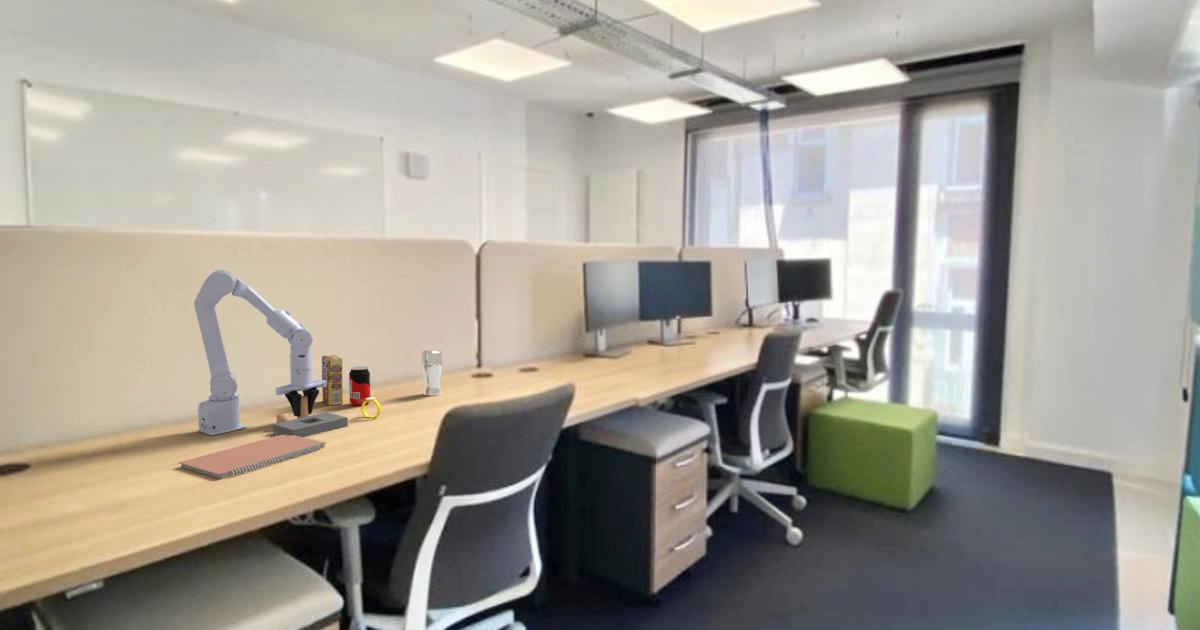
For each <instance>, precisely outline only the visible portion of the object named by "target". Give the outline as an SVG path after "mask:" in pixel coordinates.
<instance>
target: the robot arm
mask: <svg viewBox="0 0 1200 630" xmlns="http://www.w3.org/2000/svg"><path fill="white" fill-rule="evenodd" d="M230 293H231V294H232V296H234V297H237V298H242V299H244V300H246V301H247V302H248V303H249V304H250V305H251V306H253V308H255V309H256V310H258V311H259V312H260V313H261V314H262V315H264V316H265V318H266V324H267V326H269V327H270V328H271V329H272V330H274V331H275V332H276V333H277V334H279V336H281V337H282V338H283V339H287V342H288V343H289V344H290V345H289V346H290V347H289V348H290V354H289V364H290V365H289V366H290V367H289V368H290V369H289V370H290V371H289V372H290V383H289V384H287V385H283V386H278V387H276V388H275V395H278V396H282V395H284V397H285V398H286V399H287V401H288V402H289V404H290V407H291V409H292V412H293V416H294V417H299V416H300V402H301V396H308V415H311V414H312V415H313V408H314V405H315V403H316V400H317V397H318V396H319V394H320V388H322V387H327V384H326V380H322V379H320V380H313V361H312V358H313V357H312V352H311V350H312V347H311V346H312V344H313V341H314V340H313V337H312V335H311V333H310V332H309V331H308V330H307V329H306V328H305V327H304V325H303V324H302V323H301V322H300V323H299V322H298V321H297V320H295V318H293V317H292V316H291V312H290V311H288V310H284V309H283V308H274V307H273V306H272V305H271V304H270V303H269V302H267V301H266V299H265V298H263V297H262V296H261V294H259V293H258V292H257V291H256V290H255V289H253V288H252V286H250V285H249V284H247V283H246V282H244V281H243V280H242V279H239V278H238V277H235V276H234V275H233V274H232V273H231V272H229V271H228V270H224V269H220V270H219V269H218V270H216V271H214V272H212V273H211V274H210V275H208V276H207V278H206V279H204V282H203V284H202V285H201V287H200V289H199V291H198V293H197V295H196V298H195V299H194V302H193V305H194V310H195V314H196V317H197V322H198V326H199V329H200V330H199V331H200V334H201V338H202V344H203V347H204V351H205V355H206V358H207V362H208V367H209V372H210V373H209V374H210V376H211V378H210V381H209V390H210V391H209V392H210V395H209V396H208V399H207V400H205V401H200V402H199V404H198V408H197V413H198V414H197V415H198V428H197V431H198V432H200V433H202V434H206V435H209V436H215V435H216V436H217V435H220V434H225V433H230V432H234V431H238V430H239V431H240V430H242V429H243V430H244V429H247V428H248V426H247V425H244V424H241V415H240V413H241V412H240V394H239V393H237V390H238V384H237V379H236V377H235V375H234V374H233V373H232V372H231V371H230V367H229V362H228V359H227V355H226V350H225V347H224V343H223V338H222V333H221V330H220V326H219V322H218V321H219V320H218V317H217V313H216V309H215V307H216V306H217V305H218V304H219V303H220V301H221V300H222V299H223V298H224V297H226V296H227V295H228V294H230ZM318 388H319V389H318ZM299 392H302V394H301V393H299Z"/></svg>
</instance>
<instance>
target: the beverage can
mask: <svg viewBox="0 0 1200 630" xmlns="http://www.w3.org/2000/svg"><path fill="white" fill-rule="evenodd" d="M368 369H369V368H368V367H367V366H353V367H351V368H350V371H349V373H348V380H349V382H348V383H349V385H348V386H349V387H348V388H349V403H350V404H351V405H353V406H354V405H362V403H363V402H364V401H365V400H366V398H371V373H370V371H369V370H368ZM369 403H370V402H368V401H367V402H366V404H367V405H368V404H369Z"/></svg>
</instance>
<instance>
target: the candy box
mask: <svg viewBox="0 0 1200 630" xmlns="http://www.w3.org/2000/svg"><path fill="white" fill-rule="evenodd" d="M321 380H326V384H327V387H321V390H322V393H321V394H322V401H323V402H324V403H326V404H327V405H329V406H336V405H337V406H338V405H339V404H340V405H343V398H344V397H343V394H344V393H343V358H342V357H339V356H337V355H334V354H327V355H322V356H321Z"/></svg>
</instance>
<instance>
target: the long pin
mask: <svg viewBox="0 0 1200 630" xmlns="http://www.w3.org/2000/svg"><path fill="white" fill-rule="evenodd" d="M308 416H310V414H308V396H304V395H302V396H301V402H300V416H299V417H297V418H296V419H298V418H303V417H308Z"/></svg>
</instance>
